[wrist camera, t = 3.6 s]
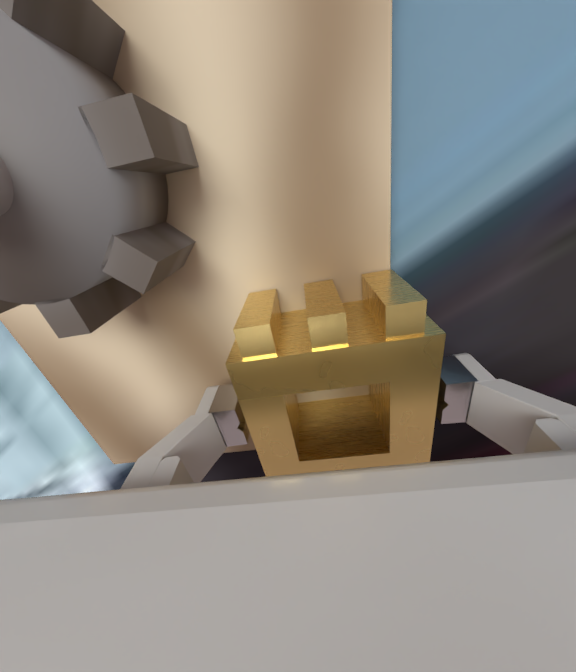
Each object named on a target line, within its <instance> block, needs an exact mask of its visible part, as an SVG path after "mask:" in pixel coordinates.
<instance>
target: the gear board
mask: <svg viewBox="0 0 576 672" xmlns="http://www.w3.org/2000/svg"><path fill="white" fill-rule="evenodd" d="M391 80H392V0H0V320H1V321H2V323H3V324H4V325H5V327H6V328H7V329H8V330H9V332H10V333H11V334H12V335H13V337H14V338H15V339H16V341H17V342H18V343H19V344H20V346H21V347H22V348H23V349H24V351H25V352H26V353H27V354H28V356H29V357H30V358H31V360H32V361H33V362H34V363H35V365H36V366H37V367H38V368H39V370H40V371H41V372H42V373H43V375H44V376H45V377H46V379H47V380H48V381H49V382H50V384H51V385H52V386H53V387H54V389H55V390H56V391H57V393H58V394H59V395H60V396H61V398H62V399H63V400H64V401H65V403H66V404H67V405H68V406H69V408H70V409H71V410H72V412H73V413H74V414H75V415H76V417H77V418H78V419H79V420H80V422H81V423H82V424H83V425H84V427H85V428H86V429H87V431H88V432H89V433H90V434H91V436H92V437H93V438H94V439H95V441H96V442H97V443H98V444H99V446H100V447H101V448H102V450H103V451H104V452H105V453H106V455H107V456H108V457H109V458H110V460H111V461H112V462H113V464H120V463H130V462H136V461H137V460H138V458H140V457H141V456H142V455H143V454H144V453H146V452H147V451H148V450H149V449H151V448H152V447H153V446H154V445H155V444H157V443H158V442H159V441H160V440H162V439H163V438H164V437H165V436H166V435H168V434H169V433H170V432H171V431H173V430H174V429H175V428H176V427H177V426H179V425H180V424H181V423H182V422H184V421H185V420H186V419H187V418H188V417H190V416H191V415H195V413H196V410H197V408H198V406H199V404H200V401H201V399H202V397H203V395H204V393H205V390H206V388H207V387H209V386H216V385H224V384H232V382H231V379H230V376H229V373H228V371H227V368H226V365H225V364H226V361H227V359H228V356H229V353H230V351H231V348H232V346H233V343H234V341H235V338H236V337H235V334H234V331H233V328H234V326H235V324H236V322H237V319H238V317H239V315H240V312H241V310H242V308H243V306H244V303H245V301H246V299H247V296H248V294H249V293H252V292H258V291H264V290H270V289H276V291H277V295H278V300H279V305H280V310H281V313H283V312H289V311H295V310H302V309H306V302H305V291H304V284H306V283H312V282H318V281H324V280H330V279H332V280H333V282H334V285H335V287H336V290H337V292H338V294H339V297H340V299H341V302H342V303H346V302H353V301H359V300H363V299H362V278H361V274H366V273H372V272H378V271H384V270H390V224H391ZM368 394H369V388H368V385H362V386H354V387H346V388H338V389H330V390H322V391H314V392H306V393H297V399H298V403H301V402H310V401H318V400H326V399H335V398H343V397H352V396H360V395H368ZM248 450H256V448H255V445H254V442H253V440H252V437H251V434H249V439H248V444H244V445H237V446H229V447H227V448H226V450H225V451H224V452H223V453H228V452H238V451H248Z"/></svg>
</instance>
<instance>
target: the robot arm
mask: <svg viewBox="0 0 576 672" xmlns="http://www.w3.org/2000/svg"><path fill="white" fill-rule="evenodd" d="M436 417H437V418H438V420H439V422H440V423H441V424H448V423H461V422H467V424H468V425H470V426H471V427H473V428H474V429H476V430H477V431H479V432H480V433H482V434H483V435H485V436H486V437H488V438H489V439H491V440H492V441H494V442H496V443H497V444H499V445H500V446H502V447H503V448H505V449H506V450H508V451H509V452H511V453H512V454H513V455H502V456H491V457H480V458H468V459H457V460H446V461H434V462H423V463H412V464H400V465H389V466H378V467H367V468H356V469H344V470H333V471H322V472H311V473H300V474H289V475H277V476H266V477H255V478H244V479H233V480H221V481H210V482H201V480H202V479H203V478H204V477H205V475H206V474H207V473H208V471H209V470H210V469H211V468H212V466H213V465H214V464H215V462H216V461H217V460H218V459H219V457H220V456H221V455H222V453H223V452H224V451H225V450H226V448H227V447H229V446H237V445H244V444H248V439H249V434H250V431H249V429H248V426H247V423H246V420H245V418H244V415H243V412H242V409H241V406H240V404H239V401H238V398H237V395H236V393H235V390H234V387H233V384H224V385H216V386H209V387H207V388H206V390H205V393H204V395H203V397H202V399H201V401H200V404H199V406H198V408H197V410H196V413H195V415H191V416H190V417H188V418H187V419H186V420H185V421H184V422H182V423H181V424H180V425H179V426H177V427H176V428H175V429H174V430H173V431H171V432H170V433H169V434H168V435H166V436H165V437H164V438H163V439H162V440H160V441H159V442H158V443H157V444H155V445H154V446H153V447H152V448H151V449H149V450H148V451H147V452H146V453H144V454H143V455H142V456H141V457H140V458H138V460H137V461H136V463H135V465H134V466H133V468H132V470H131V472H130V473H129V475H128V477H127V478H126V480H125V482H124V484H123V485H122V487H121V489H120V490H109V491H98V492H87V493H76V494H64V495H53V496H42V497H31V498H19V499H4V500H0V672H576V407H575V406H573V405H570V404H567V403H565V402H562V401H559V400H557V399H554V398H551V397H549V396H546V395H543V394H540V393H538V392H535V391H532V390H530V389H527V388H524V387H522V386H519V385H516V384H514V383H511V382H508V381H506V380H503V379H495V378H494V377H493V376H492V375H491V374H490V373H489V372H488V371H487V370H486V369H485V368H484V367H483V366H482V365H481V364H479V363H478V362H477V361H476V360H475V359H474V358H473V357H472V356H471V355H470V354H468V353H461V354H454V355H451V356H443V360H442V368H441V376H440V384H439V392H438V400H437V408H436Z"/></svg>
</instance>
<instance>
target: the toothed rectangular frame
mask: <svg viewBox="0 0 576 672" xmlns="http://www.w3.org/2000/svg"><path fill="white" fill-rule="evenodd" d="M361 278H362V299H363V300H359V301H353V302H346V303H342V302H341V299H340V297H339V294H338V292H337V290H336V287H335V285H334V282H333V280H332V279H330V280H324V281H318V282H312V283H306V284H304V291H305V302H306V309H302V310H295V311H289V312H283V313H281V310H280V305H279V300H278V295H277V291H276V289H270V290H264V291H258V292H252V293H249V294H248V296H247V299H246V301H245V303H244V306H243V308H242V310H241V312H240V315H239V317H238V319H237V322H236V324H235V326H234V328H233V331H234V334H235V337H236V338H235V341H234V343H233V346H232V348H231V351H230V353H229V356H228V359H227V361H226V364H225V365H226V368H227V371H228V373H229V376H230V379H231V382H232V384H233V387H234V390H235V393H236V395H237V398H238V401H239V404H240V406H241V409H242V412H243V415H244V418H245V420H246V423H247V426H248V429H249V431H250V434H251V437H252V440H253V442H254V445H255V448H256V451H257V453H258V456H259V459H260V462H261V464H262V467H263V470H264V473H265V476H277V475H289V474H300V473H311V472H322V471H333V470H344V469H356V468H367V467H378V466H389V465H400V464H412V463H423V462H430V456H431V448H432V440H433V432H434V424H435V416H436V408H437V400H438V392H439V384H440V376H441V368H442V360H443V352H444V344H445V336H446V333H445V332H444V331H443V330H442V329H441V328H439V327H438V326H437V325H436V324H435V323H434V322H433V321H432V320H431V319H430V318H429V317H428V316H427V315H426V306H427V299H426V298H424V297H423V296H422V295H421V294H420V293H418V292H417V291H416V290H415V289H414V288H413V287H411V286H410V285H409V284H408V283H407V282H406V281H404V280H403V279H402V278H401V277H400V276H398V275H397V274H396V273H395V272H394V271H393V270H391V269H390V270H384V271H378V272H372V273H366V274H361ZM362 385H368V388H369V394H368V395H360V396H352V397H343V398H335V399H326V400H318V401H310V402H301V403H298V399H297V393H306V392H314V391H322V390H330V389H338V388H346V387H354V386H362Z"/></svg>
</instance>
